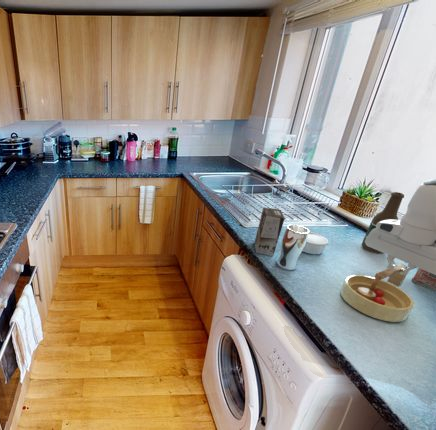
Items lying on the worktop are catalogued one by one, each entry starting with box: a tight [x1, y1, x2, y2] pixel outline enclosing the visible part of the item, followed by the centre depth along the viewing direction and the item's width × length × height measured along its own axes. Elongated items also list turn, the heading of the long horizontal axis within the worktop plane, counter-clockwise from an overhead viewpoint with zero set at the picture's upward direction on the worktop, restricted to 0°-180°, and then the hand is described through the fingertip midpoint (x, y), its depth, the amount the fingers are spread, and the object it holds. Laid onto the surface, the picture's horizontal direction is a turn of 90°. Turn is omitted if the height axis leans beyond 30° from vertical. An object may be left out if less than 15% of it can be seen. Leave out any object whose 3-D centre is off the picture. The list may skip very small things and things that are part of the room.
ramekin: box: [302, 231, 330, 255], centre depth 114 cm, size 11×11×5 cm
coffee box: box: [254, 207, 286, 257], centre depth 110 cm, size 9×6×16 cm
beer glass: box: [276, 224, 310, 271], centre depth 101 cm, size 7×7×15 cm
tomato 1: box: [373, 289, 384, 298], centre depth 88 cm, size 3×3×3 cm
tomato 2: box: [373, 297, 385, 305], centre depth 84 cm, size 3×3×3 cm
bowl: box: [340, 274, 415, 323], centre depth 85 cm, size 15×15×5 cm
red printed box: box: [410, 268, 436, 291], centre depth 93 cm, size 8×3×10 cm, turn 47°
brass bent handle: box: [356, 263, 408, 300], centre depth 88 cm, size 19×4×7 cm, turn 113°
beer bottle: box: [361, 191, 405, 254], centre depth 111 cm, size 8×8×24 cm
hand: (396, 271), depth 90 cm, fingers closed on brass bent handle, 2 cm apart
